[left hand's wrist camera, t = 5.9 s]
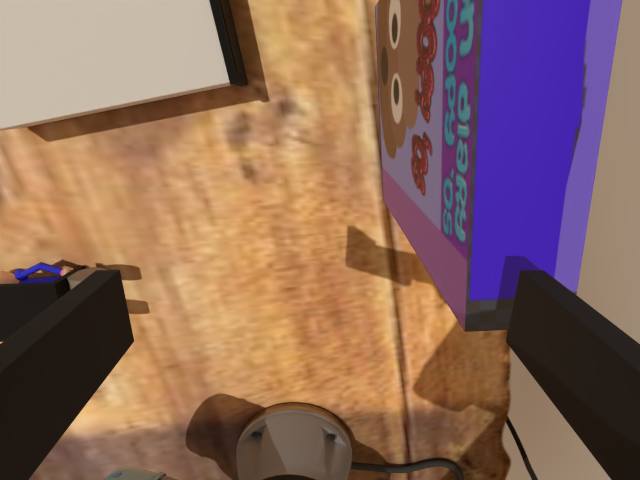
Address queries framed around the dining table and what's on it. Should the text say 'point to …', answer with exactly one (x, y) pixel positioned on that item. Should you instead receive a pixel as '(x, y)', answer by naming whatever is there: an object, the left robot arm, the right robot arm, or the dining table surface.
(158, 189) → the dining table surface
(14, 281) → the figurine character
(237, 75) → the disc drive
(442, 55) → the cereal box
